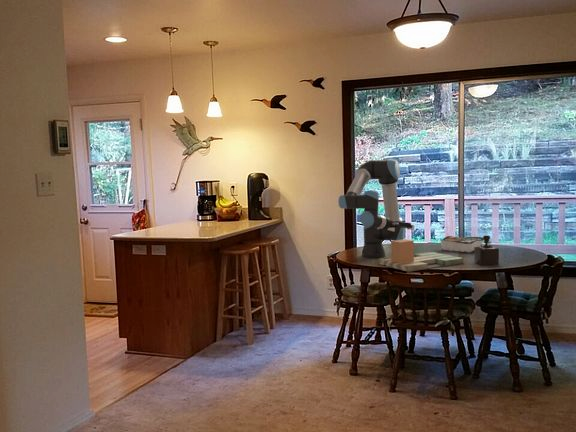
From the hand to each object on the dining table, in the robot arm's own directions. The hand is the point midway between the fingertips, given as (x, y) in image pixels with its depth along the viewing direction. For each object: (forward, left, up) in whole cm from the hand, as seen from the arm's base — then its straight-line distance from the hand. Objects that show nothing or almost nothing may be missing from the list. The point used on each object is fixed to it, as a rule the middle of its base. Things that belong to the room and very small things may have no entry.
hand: (403, 228), depth 323 cm
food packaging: (+16, +65, -22) cm, 70 cm away
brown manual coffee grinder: (+43, +19, -22) cm, 52 cm away
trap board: (+7, +8, -22) cm, 24 cm away
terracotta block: (0, -3, -19) cm, 19 cm away
